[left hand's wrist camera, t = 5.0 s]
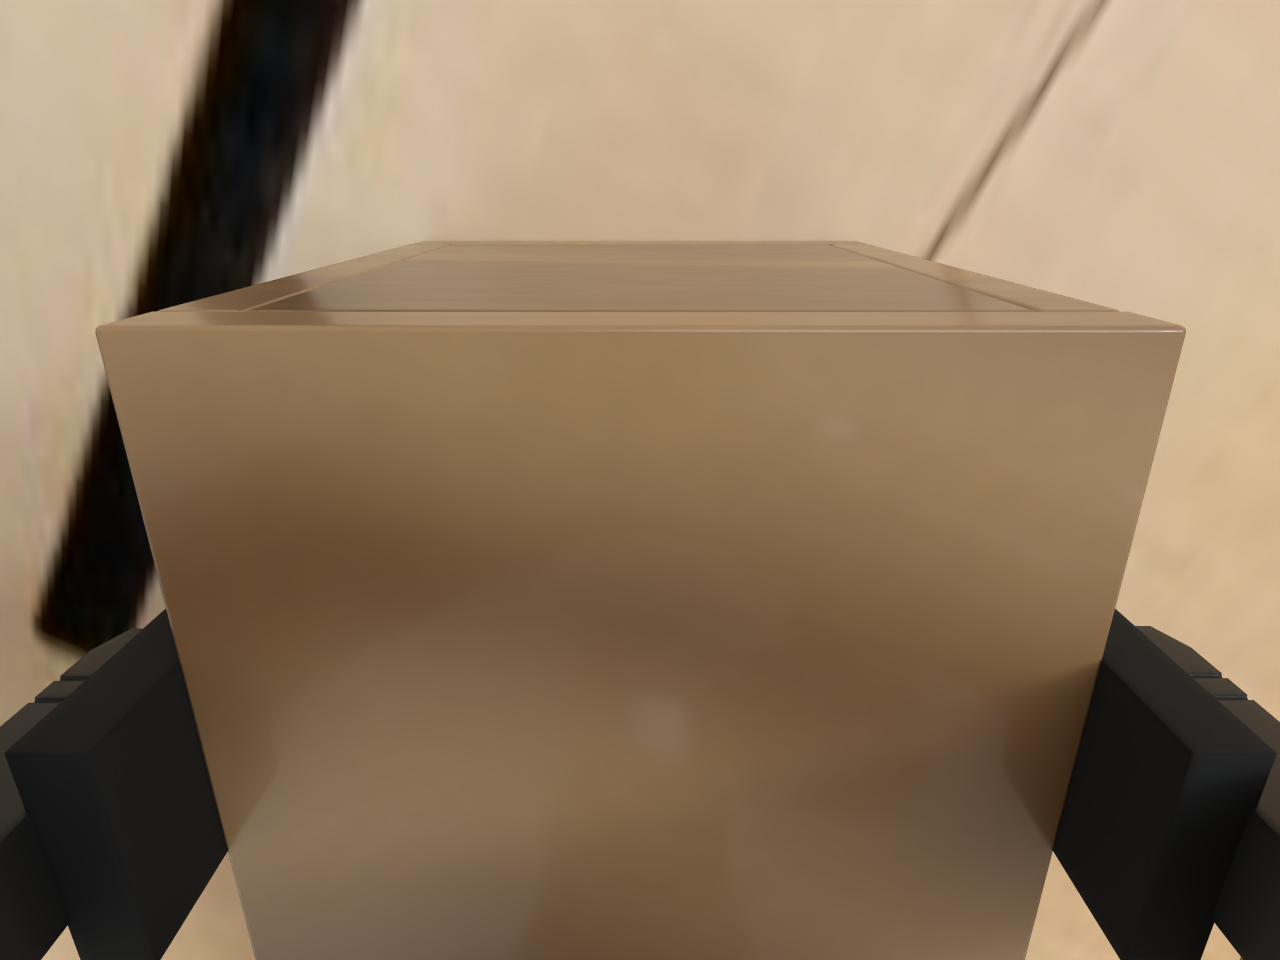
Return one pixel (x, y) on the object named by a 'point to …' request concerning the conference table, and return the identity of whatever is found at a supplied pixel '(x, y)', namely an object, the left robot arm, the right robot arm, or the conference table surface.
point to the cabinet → (640, 591)
